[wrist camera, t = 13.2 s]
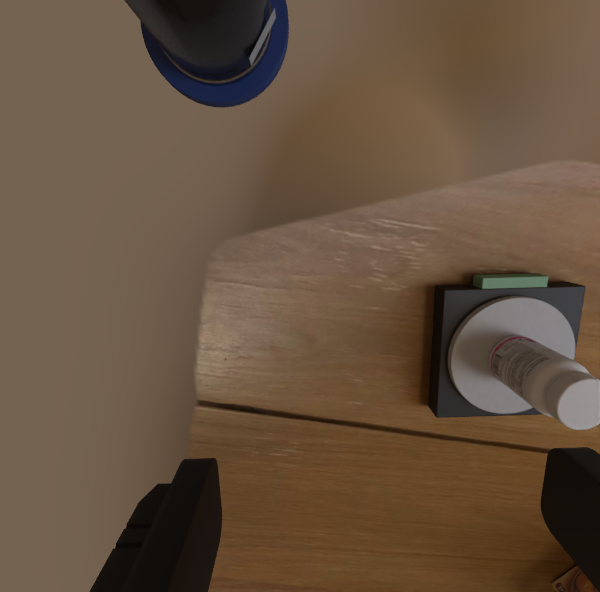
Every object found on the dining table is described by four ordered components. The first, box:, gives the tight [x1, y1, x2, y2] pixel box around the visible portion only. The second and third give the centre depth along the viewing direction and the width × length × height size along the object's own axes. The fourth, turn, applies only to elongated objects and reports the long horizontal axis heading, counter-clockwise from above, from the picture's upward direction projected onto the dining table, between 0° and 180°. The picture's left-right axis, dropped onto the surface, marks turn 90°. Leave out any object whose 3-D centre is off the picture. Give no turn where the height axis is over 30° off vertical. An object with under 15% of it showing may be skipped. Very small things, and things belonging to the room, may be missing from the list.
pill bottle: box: [489, 336, 600, 430], centre depth 28 cm, size 5×5×8 cm
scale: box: [429, 273, 585, 418], centre depth 34 cm, size 14×13×3 cm
